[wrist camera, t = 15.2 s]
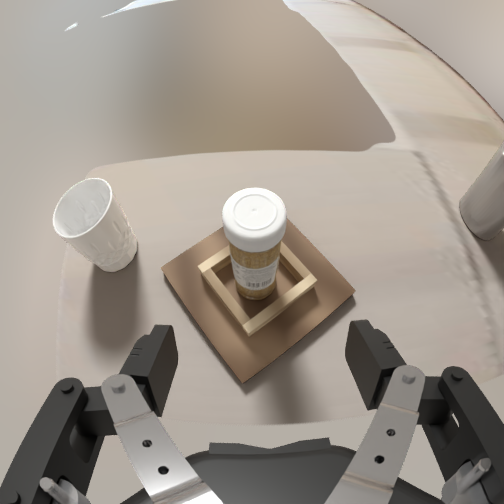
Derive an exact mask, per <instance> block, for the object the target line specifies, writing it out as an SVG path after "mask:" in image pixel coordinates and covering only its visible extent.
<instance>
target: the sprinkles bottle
mask: <svg viewBox="0 0 504 504" xmlns="http://www.w3.org/2000/svg"><path fill="white" fill-rule="evenodd" d="M222 221H223V228H224V232H225V235H226V237H227V238H228V241H229V251H230V256H231V262H232V268H233V273H234V277H235V286H236V289H237V291H238V292H239V293H240V294H241V295H242V296H243V297H245V298H247V299H250V300H261V299H263V298H266V297H267V296H269V295H270V294H271V293H272V291H273V290H274V288H275V285H276V273H277V270H278V265H279V259H280V256H279V255H280V247H281V239H282V238H283V236H284V233H285V229H286V222H287V210H286V207H285V205H284V203H283V201H282V200H281V199H280V198H279V197H278V196H277V195H276V194H274V193H273V192H271V191H268V190H266V189H262V188H248V189H244V190H241V191H238V192H237V193H235V194H233V195H232V196H231V197H230V198H229V199H228V200H227V202H226V203H225V205H224V207H223V211H222Z"/></svg>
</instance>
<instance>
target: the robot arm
mask: <svg viewBox="0 0 504 504" xmlns="http://www.w3.org/2000/svg"><path fill="white" fill-rule="evenodd" d="M460 212H461V215H462V217H463V219H464V221H465V223H466V225H467V226H468V227H469V229H470V230H471V231H472V232H473V233H474V234H475V235H476V236H478V237H479V238H481V239H483V240H491V239H492V238H494V237H495V236H496V235H497V234H498V233H499V232H500V231H501V230H502V229H503V228H504V141H503V142H502V144H501V146H500V147H499V149H498V150H497V152H496V153H495V154H494V156H493V157H492V159H491V160H490V162H489V163H488V164H487V166H486V167H485V168H484V170H483V171H482V173H481V174H480V175H479V177H478V178H477V179H476V181H475V182H474V183H473V184H472V186H471V187H470V188H469V189H468V191H467V192H466V193H465V195H464V196H463V197H462V198H461V200H460ZM345 357H346V361H347V363H348V366H349V368H350V370H351V373H352V375H353V377H354V379H355V382H356V384H357V386H358V389H359V391H360V394H361V396H362V398H363V401H364V403H365V406H366V408H367V410H372V409H377V412H376V414H375V416H374V419H373V421H372V423H371V425H370V427H369V429H368V431H367V433H366V435H365V437H364V439H363V441H362V443H361V445H360V446H359V448H358V450H357V452H356V451H354V450H351V449H349V448H345V447H341V446H336V445H331V444H330V441H329V438H322V439H313V440H304V441H298V442H295V443H291V444H288V445H284V446H280V447H277V448H273V449H266V448H260V447H254V446H249V445H244V444H239V443H238V444H236V443H210V445H209V450H208V451H203V452H198V453H196V454H192V455H190V456H188V457H186V458H184V456H183V455H182V453H181V452H180V451H179V450H178V448H177V446H176V445H175V443H174V442H173V441H172V439H171V438H170V436H169V435H168V433H167V432H166V430H165V429H164V427H163V426H162V424H161V422H160V421H159V419H158V417H162V413H163V410H164V407H165V403H166V400H167V397H168V394H169V390H170V387H171V384H172V381H173V378H174V374H175V371H176V368H177V365H178V351H177V346H176V341H175V336H174V330H173V327H172V326H171V325H155V326H154V328H153V330H152V332H151V334H150V335H144V336H142V337H141V338H140V339H139V340H137V342H136V344H135V345H134V347H133V349H132V351H131V353H130V355H129V356H128V358H127V360H126V362H125V363H124V365H123V367H122V369H121V371H120V373H119V374H117V375H113V376H110V377H109V378H107V379H106V380H105V381H104V382H103V383H102V386H99V387H86V388H84V386H83V384H82V382H81V381H80V380H78V379H76V378H65V379H63V380H61V381H59V382H58V383H57V384H56V385H55V386H54V388H53V389H52V391H51V393H50V394H49V396H48V397H47V399H46V401H45V402H44V404H43V406H42V407H41V409H40V411H39V413H38V414H37V416H36V418H35V420H34V421H33V423H32V425H31V427H30V428H29V430H28V432H27V434H26V436H25V438H24V440H23V441H22V443H21V445H20V447H19V449H18V451H17V453H16V455H15V457H14V459H13V461H12V463H11V465H10V468H9V469H8V472H7V474H6V476H5V478H4V480H3V483H2V485H1V487H0V504H91V503H90V501H89V500H88V499H87V498H86V493H87V490H88V486H89V483H90V480H91V477H92V474H93V470H94V467H95V464H96V461H97V458H98V455H99V452H100V449H101V446H102V443H103V440H104V437H105V436H106V435H118V436H119V438H120V441H121V443H122V445H123V447H124V449H125V452H126V453H127V456H128V458H129V459H130V462H131V464H132V465H133V467H134V469H135V471H136V473H137V475H138V477H139V479H140V480H141V482H142V484H143V486H144V488H143V489H141V490H140V491H138V492H137V493H136V494H134V495H133V496H131V497H130V498H128V499H127V500H125V501H123V502H122V503H120V504H504V424H503V423H502V421H501V419H500V418H499V416H498V415H497V413H496V412H495V410H494V409H493V407H492V406H491V404H490V403H489V401H488V400H487V399H486V397H485V396H484V394H483V393H482V391H481V390H480V389H479V387H478V386H477V384H476V383H475V382H474V380H473V379H472V377H471V376H470V375H469V373H468V372H467V371H466V370H464V369H462V368H460V367H456V366H451V367H447V368H446V369H444V371H443V373H442V375H441V377H429V376H425V375H424V373H423V372H422V371H421V370H420V369H419V368H417V367H414V366H410V365H407V364H406V363H405V361H404V360H403V358H402V357H401V356H400V354H399V353H398V351H397V350H396V348H394V345H393V344H392V342H391V341H390V340H389V338H388V337H387V335H386V334H385V333H383V332H382V331H380V330H379V329H374V328H373V327H372V325H371V324H370V323H369V321H368V320H357V321H351V322H350V326H349V331H348V337H347V342H346V348H345ZM453 413H454V415H455V417H456V418H457V420H458V423H459V427H458V425H457V424H456V422H455V420H454V418H453V416H452V414H453ZM417 424H420V425H422V427H423V430H424V432H425V434H426V436H427V438H428V441H429V443H430V445H431V448H432V450H433V452H434V455H435V457H436V460H437V462H438V464H439V467H440V470H441V472H442V475H443V477H444V480H445V482H446V483H445V484H444V486H443V488H442V498H441V500H440V499H438V498H436V497H434V496H432V495H430V494H428V493H426V492H424V491H422V490H421V489H419V488H417V487H415V486H413V485H411V484H410V483H408V482H406V481H404V480H402V479H401V478H399V477H398V475H399V473H400V470H401V467H402V465H403V462H404V460H405V457H406V454H407V452H408V449H409V446H410V443H411V440H412V437H413V434H414V430H415V427H416V425H417Z"/></svg>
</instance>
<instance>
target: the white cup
mask: <svg viewBox="0 0 504 504" xmlns="http://www.w3.org/2000/svg"><path fill="white" fill-rule="evenodd" d="M53 227H54V230H55V231H56V233H57V234H58V235H59V236H60V237H61V238H62V239H64V240H65V241H66V242H67V243H68V244H69V245H70V246H72V247H73V248H74V249H75V250H76V251H77V252H79V253H80V254H81V255H83V256H84V257H85V258H86V259H88V260H89V261H90V262H93V263H94V264H95V265H97V266H98V267H99V268H101V269H102V270H103V271H107V272H116V271H118V270H120V269H123V268H125V267H126V266H127V265H128V264H129V263H130V262H131V261H132V260H133V258H134V255H135V253H136V251H137V238H136V236H135V234H134V232H133V230H132V229H131V227H130V223H129V221H128V219H127V217H126V215H125V214H124V211H123V209H122V207H121V206H120V204H119V202H118V200H117V198H116V196H115V194H114V192H113V191H112V189H111V187H110V185H109V184H108V182H106V181H105V180H103V179H100V178H90V179H86V180H83V181H81V182H79V183H77V184H76V185H74V186H73V187H72V188H70V189H69V190H68V191H67V192H66V193H65V194H64V195H63V196H62V198H61V199H60V201H59V202H58V204H57V206H56V208H55V211H54V215H53Z"/></svg>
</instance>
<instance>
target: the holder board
mask: <svg viewBox="0 0 504 504" xmlns="http://www.w3.org/2000/svg"><path fill="white" fill-rule="evenodd" d="M279 256H280V259H279V265H278V270H277V273H276V285H275V288H274V290H273V291H272V293H271V294H270V295H269V296H267V297H266V298H263V299H261V300H250V299H247V298H245V297H243V296H242V295H241V294H240V293H239V292H238V291H237V289H236V286H235V277H234V273H233V268H232V262H231V256H230V251H229V241H228V238H227V237H226V235H225V232H224V228H223V227H222V228H220V229H219V230H217V231H216V232H214V233H213V234H211V235H209V236H208V237H206V238H205V239H203V240H202V241H200V242H199V243H197V244H196V245H194V246H193V247H191V248H190V249H188V250H186V251H185V252H183V253H182V254H180V255H179V256H177V257H176V258H174V259H173V260H171V261H170V262H168V263H167V264H165V265H164V266H163V267H161V269H162V271H163V272H164V274H165V276H166V277H167V279H168V280H169V282H170V283H171V285H172V286H173V288H174V289H175V291H176V293H177V294H178V296H179V297H180V299H181V300H182V301H183V303H184V304H185V306H186V307H187V309H188V310H189V312H190V313H191V315H192V316H193V318H194V319H195V320H196V322H197V323H198V325H199V326H200V328H201V329H202V330H203V332H204V333H205V335H206V336H207V337H208V339H209V340H210V341H211V343H212V344H213V346H214V347H215V348H216V350H217V351H218V352H219V354H220V355H221V356H222V358H223V359H224V360H225V362H226V363H227V364H228V366H229V367H230V368H231V369H232V371H233V372H234V373H235V375H236V376H237V377H238V378H239V380H240V381H241V382H242V383H244V382H246V381H247V380H248V379H250V378H251V377H253V376H254V375H255V374H257V373H258V372H259V371H261V370H262V369H263V368H265V367H266V366H267V365H269V364H270V363H271V362H273V361H274V360H275V359H277V358H278V357H279V356H280V355H282V354H283V353H284V352H285V351H287V350H288V349H289V348H291V347H292V346H293V345H294V344H296V343H297V342H298V341H299V340H300V339H302V338H303V337H304V336H305V335H307V334H308V333H309V332H310V331H311V330H313V329H314V328H315V327H316V326H317V325H318V324H320V323H321V322H322V321H323V320H324V319H325V318H327V317H328V316H329V315H330V314H331V313H332V312H333V311H335V310H336V309H337V308H338V307H339V306H340V305H341V304H342V303H344V302H345V301H346V300H347V299H348V298H349V297H350V296H351V295H352V294H353V293H354V292H355V289H354V288H353V287H352V286H351V285H350V284H349V283H348V282H347V281H346V280H345V278H344V277H343V276H342V275H341V274H340V273H339V272H338V271H337V270H336V269H335V268H334V267H333V265H332V264H331V263H330V262H329V261H328V260H327V259H326V258H325V257H324V256H323V255H322V254H321V253H320V252H319V251H318V250H317V249H316V247H315V246H314V245H313V244H312V243H311V242H310V241H309V240H308V239H307V238H306V237H305V236H304V235H303V234H302V233H301V232H300V231H299V230H298V229H297V228H296V227H295V226H294V225H293V224H292V223H291V222H290V221H289V220H288V219H287V222H286V229H285V233H284V236H283V238H282V239H281V247H280V255H279Z"/></svg>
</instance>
